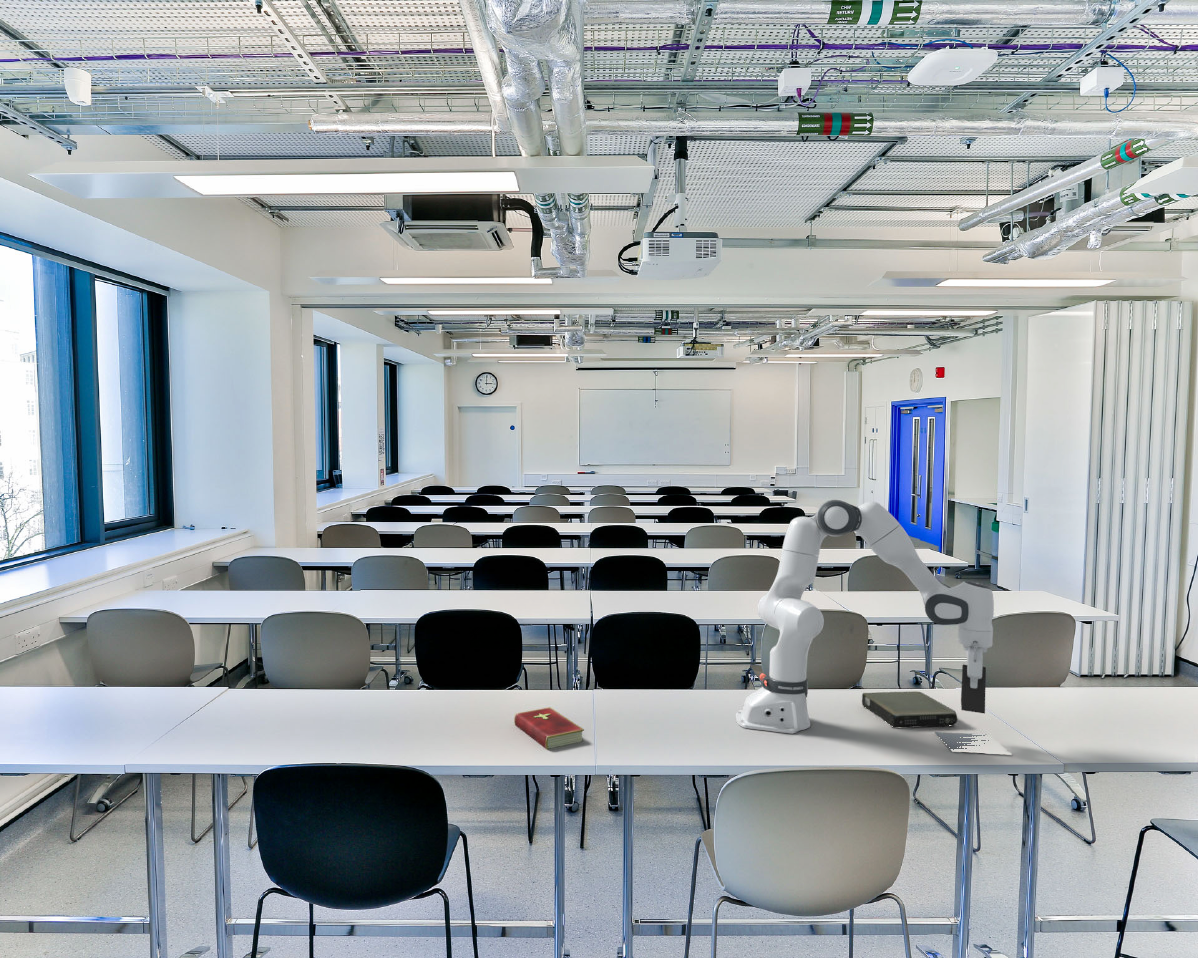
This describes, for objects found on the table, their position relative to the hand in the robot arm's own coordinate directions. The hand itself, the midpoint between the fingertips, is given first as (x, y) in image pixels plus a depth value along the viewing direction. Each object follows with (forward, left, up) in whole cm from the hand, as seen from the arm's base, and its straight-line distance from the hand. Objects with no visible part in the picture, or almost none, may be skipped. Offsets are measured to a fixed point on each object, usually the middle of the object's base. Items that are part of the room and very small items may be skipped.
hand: (973, 685), depth 215 cm
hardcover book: (-122, -9, -18) cm, 124 cm away
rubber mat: (0, -1, -17) cm, 17 cm away
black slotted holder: (0, 0, -6) cm, 7 cm away
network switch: (-11, +21, -18) cm, 30 cm away
